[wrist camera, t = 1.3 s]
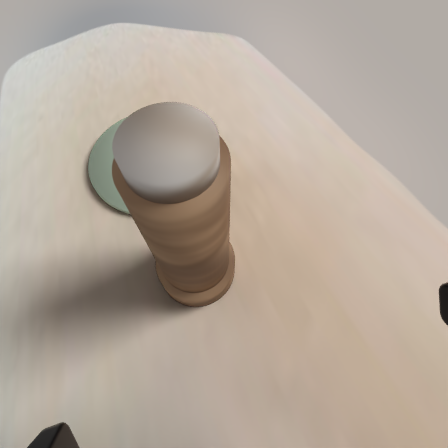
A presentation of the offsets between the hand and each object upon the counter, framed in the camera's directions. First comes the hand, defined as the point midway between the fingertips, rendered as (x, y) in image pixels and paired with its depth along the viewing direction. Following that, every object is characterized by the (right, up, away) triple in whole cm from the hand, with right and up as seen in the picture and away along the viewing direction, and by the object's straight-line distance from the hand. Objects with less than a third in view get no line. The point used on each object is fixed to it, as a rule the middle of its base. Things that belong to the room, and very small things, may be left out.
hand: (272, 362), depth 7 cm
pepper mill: (-3, 0, +15) cm, 15 cm away
